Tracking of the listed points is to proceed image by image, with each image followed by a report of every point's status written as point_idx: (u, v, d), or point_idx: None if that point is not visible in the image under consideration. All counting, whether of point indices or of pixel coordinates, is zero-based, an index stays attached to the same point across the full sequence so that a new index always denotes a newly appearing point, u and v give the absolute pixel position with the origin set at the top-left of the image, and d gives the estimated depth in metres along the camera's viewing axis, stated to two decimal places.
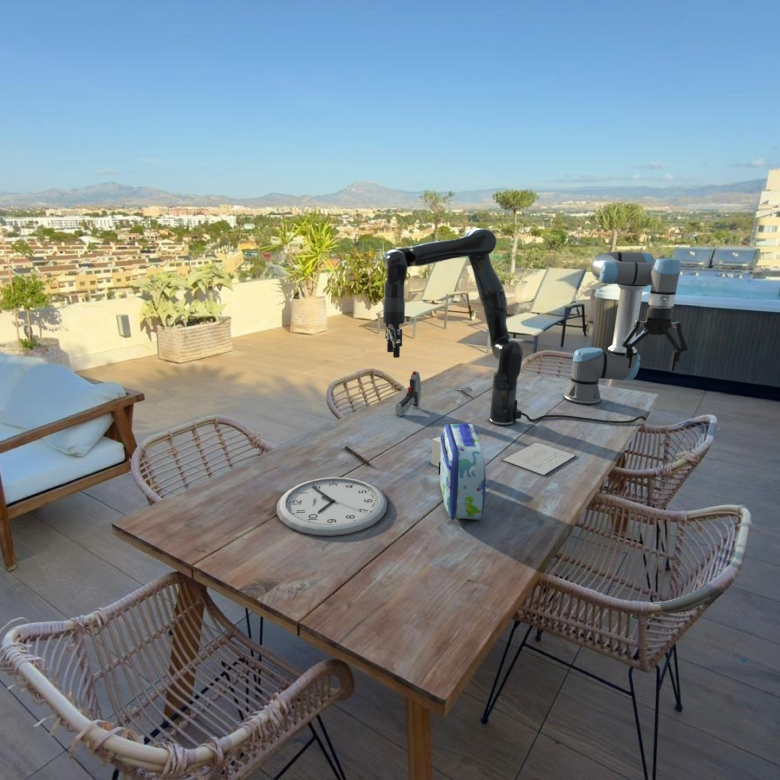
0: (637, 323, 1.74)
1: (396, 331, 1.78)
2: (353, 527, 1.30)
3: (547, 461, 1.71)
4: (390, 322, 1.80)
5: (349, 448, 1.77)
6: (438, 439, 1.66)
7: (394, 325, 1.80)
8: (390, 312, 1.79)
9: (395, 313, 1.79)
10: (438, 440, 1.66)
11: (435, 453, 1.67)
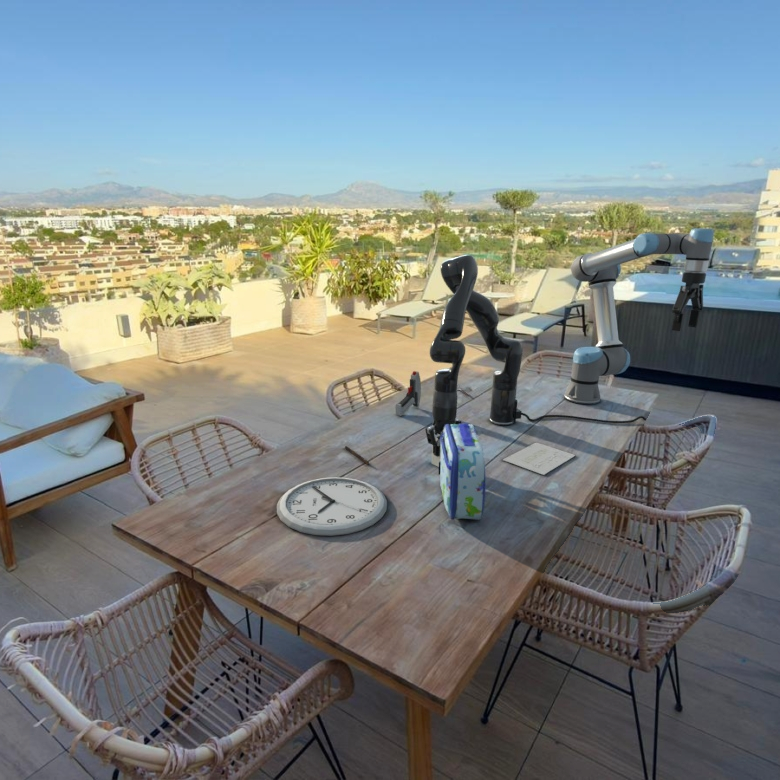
0: None
1: None
2: (353, 527, 1.30)
3: (547, 461, 1.71)
4: None
5: (349, 448, 1.77)
6: None
7: None
8: None
9: None
10: None
11: None
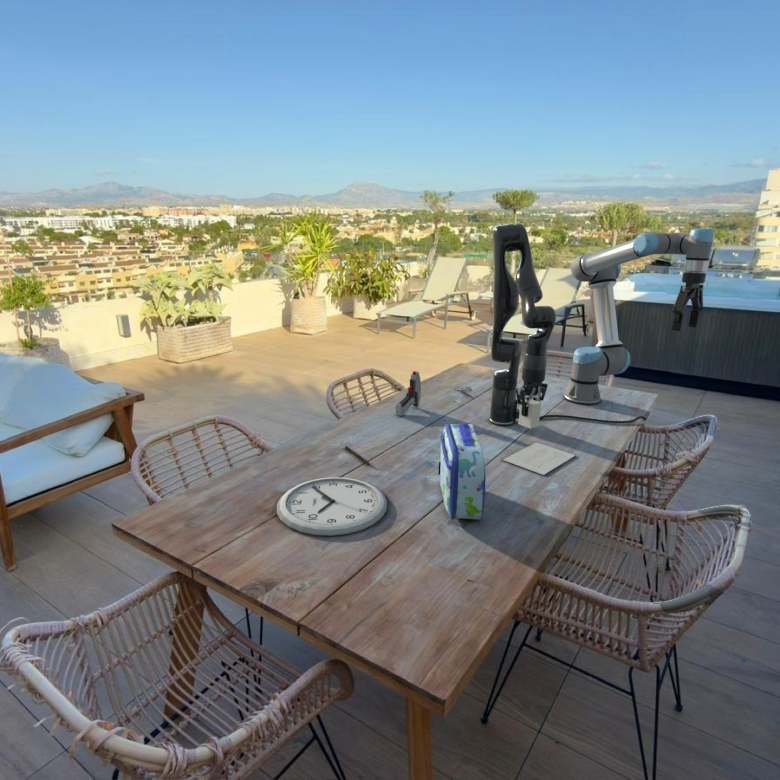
0: None
1: None
2: (353, 527, 1.30)
3: (547, 461, 1.71)
4: None
5: (349, 448, 1.77)
6: None
7: None
8: None
9: None
10: None
11: None
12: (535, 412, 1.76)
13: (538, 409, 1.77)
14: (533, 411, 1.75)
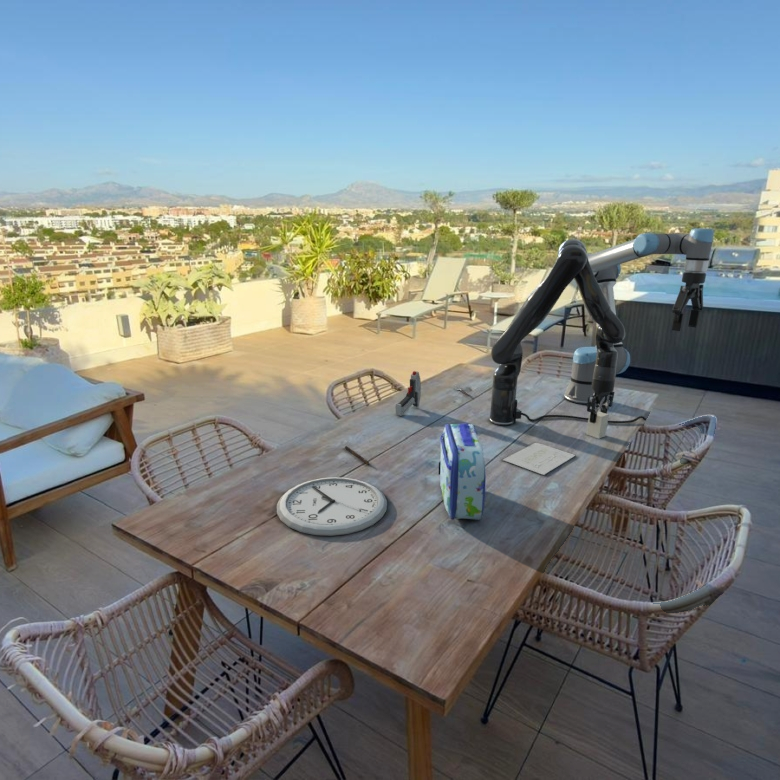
0: None
1: None
2: (353, 527, 1.30)
3: (547, 461, 1.71)
4: None
5: (349, 448, 1.77)
6: None
7: None
8: None
9: None
10: None
11: (592, 425, 1.93)
12: (604, 423, 1.91)
13: (606, 420, 1.92)
14: (602, 422, 1.90)
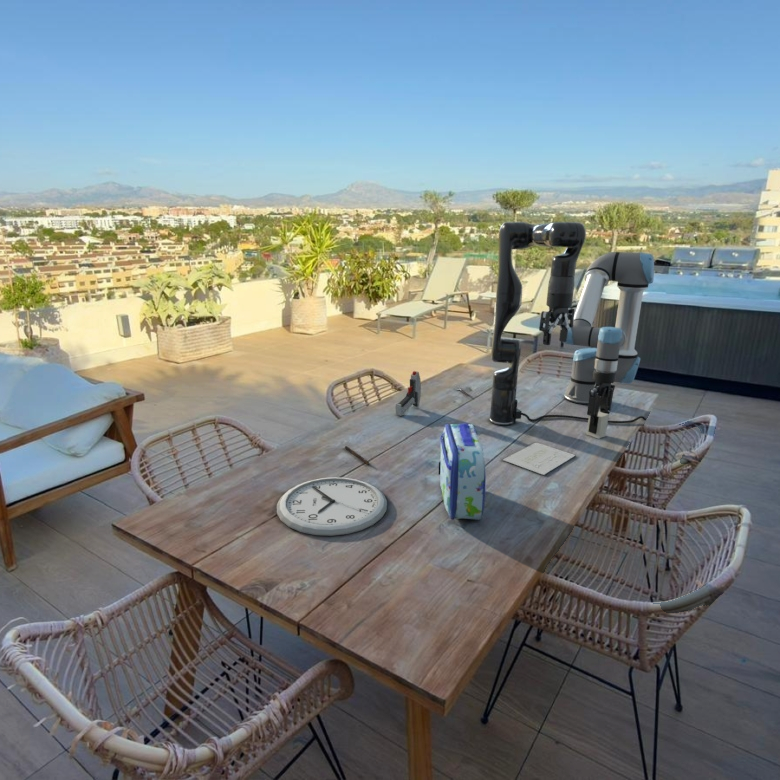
0: None
1: None
2: (353, 527, 1.30)
3: (547, 461, 1.71)
4: None
5: (349, 448, 1.77)
6: None
7: None
8: None
9: None
10: None
11: None
12: (604, 423, 1.91)
13: (606, 420, 1.92)
14: (602, 422, 1.90)
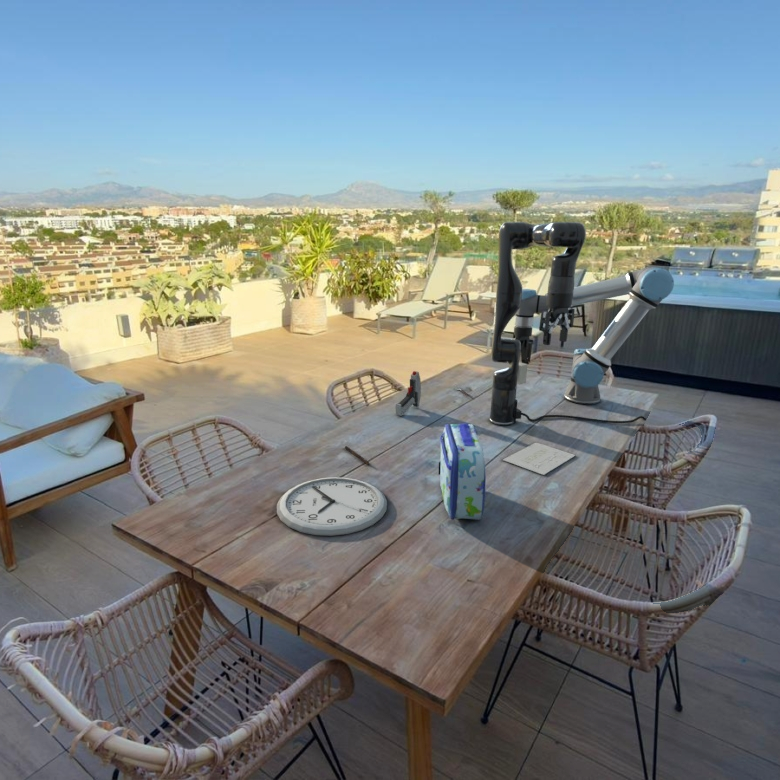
0: None
1: None
2: (353, 527, 1.30)
3: (547, 461, 1.71)
4: None
5: (349, 448, 1.77)
6: None
7: None
8: None
9: None
10: None
11: None
12: (523, 371, 2.26)
13: (525, 369, 2.26)
14: (522, 371, 2.25)
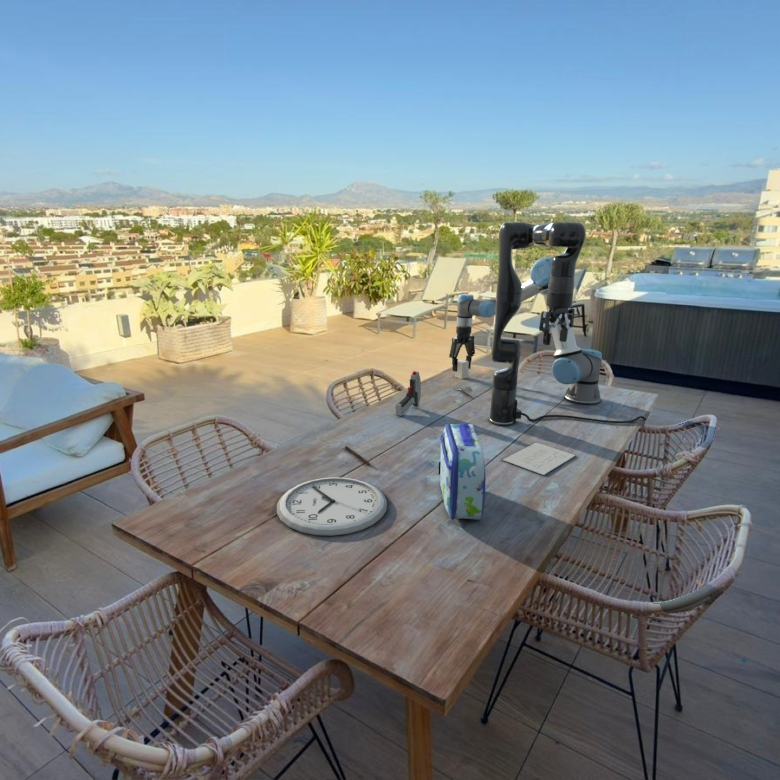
0: None
1: None
2: (353, 527, 1.30)
3: (547, 461, 1.71)
4: None
5: (349, 448, 1.77)
6: (459, 360, 2.65)
7: None
8: None
9: None
10: (459, 361, 2.65)
11: (457, 369, 2.66)
12: (465, 367, 2.64)
13: (467, 366, 2.64)
14: (463, 367, 2.63)
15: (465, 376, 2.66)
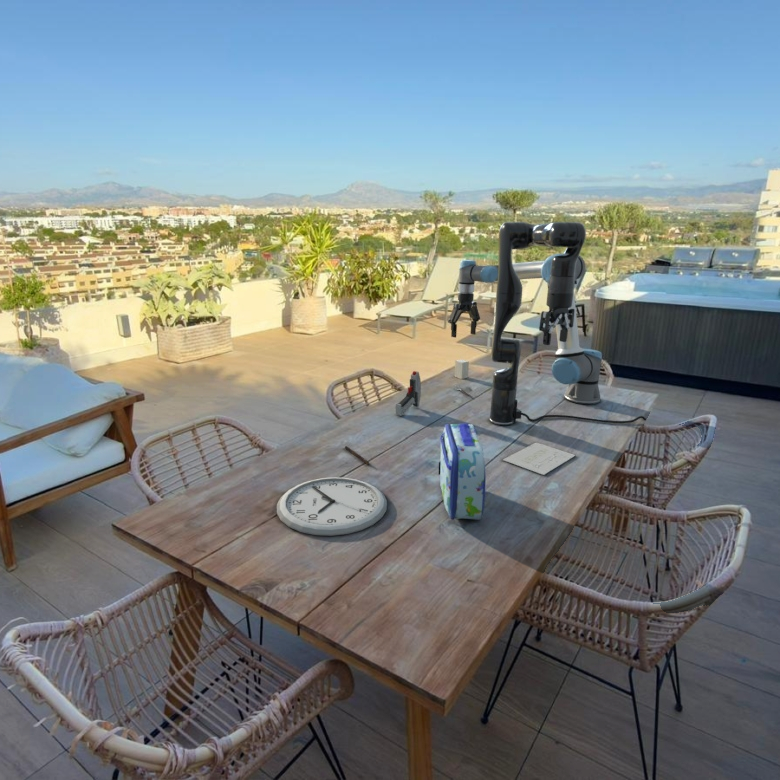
0: None
1: None
2: (353, 527, 1.30)
3: (547, 461, 1.71)
4: None
5: (349, 448, 1.77)
6: (459, 360, 2.65)
7: None
8: None
9: None
10: (459, 361, 2.65)
11: (457, 369, 2.66)
12: (465, 367, 2.64)
13: (467, 366, 2.64)
14: (463, 367, 2.63)
15: (465, 376, 2.66)
